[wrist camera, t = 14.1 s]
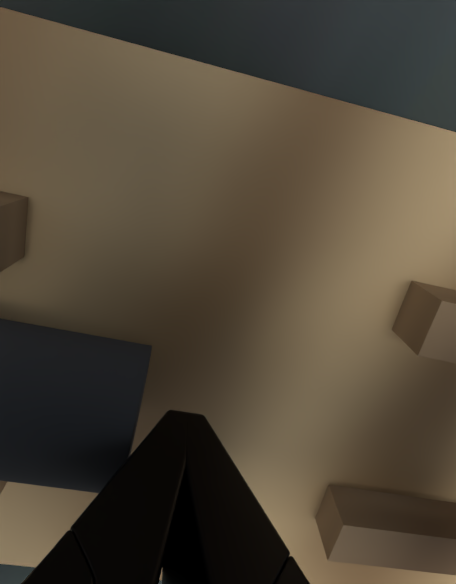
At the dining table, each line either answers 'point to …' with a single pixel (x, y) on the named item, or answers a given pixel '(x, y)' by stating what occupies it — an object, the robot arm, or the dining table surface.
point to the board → (243, 286)
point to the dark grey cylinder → (67, 405)
